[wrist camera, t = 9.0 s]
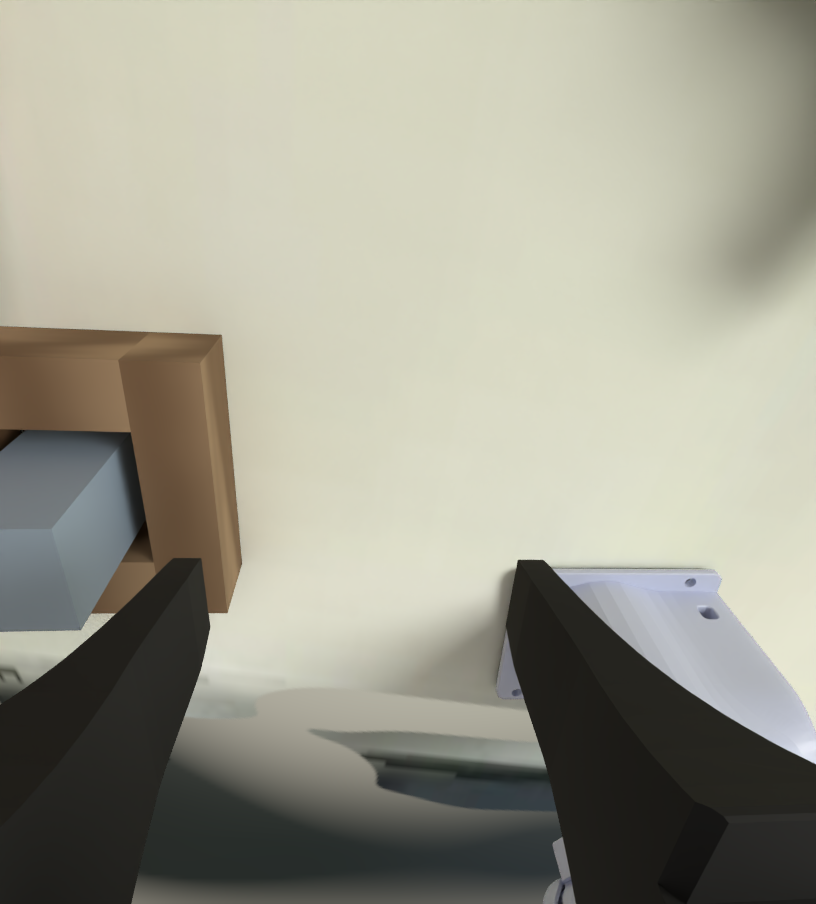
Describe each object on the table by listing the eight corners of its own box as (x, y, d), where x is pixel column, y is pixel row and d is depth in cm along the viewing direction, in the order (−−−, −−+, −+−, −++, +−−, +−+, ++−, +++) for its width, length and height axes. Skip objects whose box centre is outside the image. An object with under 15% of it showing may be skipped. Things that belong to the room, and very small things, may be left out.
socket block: (221, 335, 20) (200, 362, 18) (241, 563, 25) (227, 612, 22) (-85, 323, 19) (-156, 350, 17) (-6, 562, 24) (-52, 613, 21)
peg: (140, 420, 22) (51, 528, 15) (155, 501, 23) (80, 630, 17) (39, 419, 21) (-94, 529, 15) (62, 502, 23) (-49, 632, 17)
